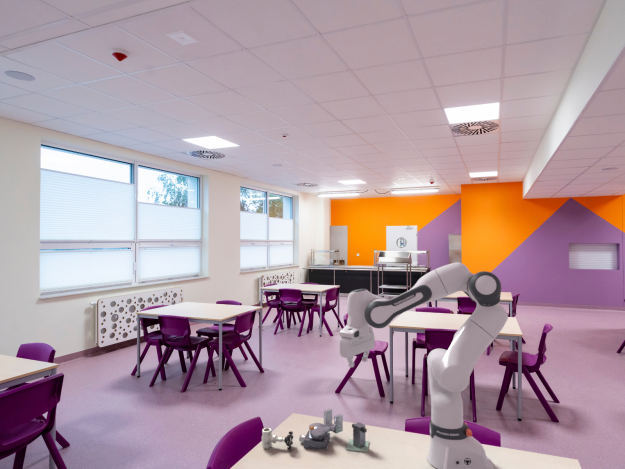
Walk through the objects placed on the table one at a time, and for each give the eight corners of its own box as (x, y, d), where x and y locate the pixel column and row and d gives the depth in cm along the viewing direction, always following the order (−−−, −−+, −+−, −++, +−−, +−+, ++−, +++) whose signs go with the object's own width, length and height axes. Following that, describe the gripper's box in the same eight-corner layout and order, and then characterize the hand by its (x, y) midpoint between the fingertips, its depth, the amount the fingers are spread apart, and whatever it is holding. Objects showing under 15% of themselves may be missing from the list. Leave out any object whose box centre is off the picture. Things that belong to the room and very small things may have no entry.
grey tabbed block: (355, 441, 157) (355, 420, 157) (368, 447, 152) (368, 426, 153) (350, 444, 155) (350, 423, 155) (362, 450, 150) (362, 429, 150)
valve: (259, 450, 151) (289, 453, 149) (259, 433, 151) (289, 436, 149) (264, 442, 158) (293, 444, 155) (264, 425, 158) (293, 428, 156)
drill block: (330, 440, 159) (330, 432, 159) (326, 450, 151) (326, 442, 151) (302, 437, 161) (302, 430, 161) (297, 447, 153) (297, 439, 153)
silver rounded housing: (330, 424, 165) (330, 408, 165) (342, 431, 159) (342, 414, 159) (304, 434, 156) (304, 417, 157) (316, 442, 150) (316, 424, 151)
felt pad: (369, 442, 157) (369, 441, 157) (367, 452, 149) (367, 451, 149) (349, 440, 159) (349, 439, 159) (346, 450, 151) (346, 449, 151)
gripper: (365, 324, 168) (365, 356, 168) (336, 332, 152) (336, 368, 152) (378, 326, 164) (378, 359, 164) (350, 335, 148) (350, 371, 148)
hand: (358, 364), depth 158 cm, fingers open, 8 cm apart
